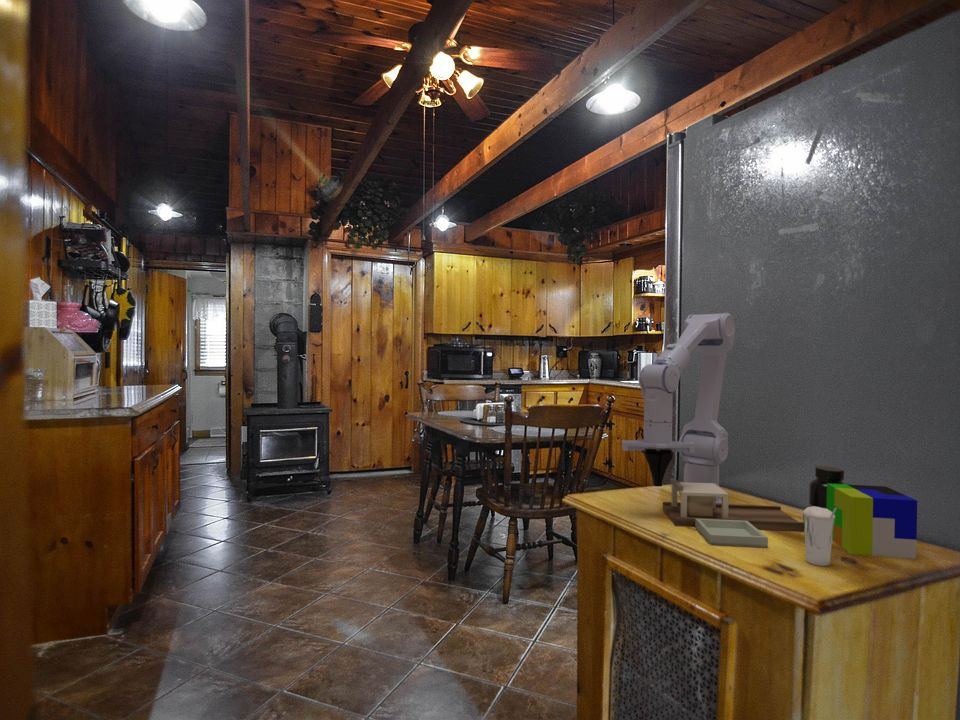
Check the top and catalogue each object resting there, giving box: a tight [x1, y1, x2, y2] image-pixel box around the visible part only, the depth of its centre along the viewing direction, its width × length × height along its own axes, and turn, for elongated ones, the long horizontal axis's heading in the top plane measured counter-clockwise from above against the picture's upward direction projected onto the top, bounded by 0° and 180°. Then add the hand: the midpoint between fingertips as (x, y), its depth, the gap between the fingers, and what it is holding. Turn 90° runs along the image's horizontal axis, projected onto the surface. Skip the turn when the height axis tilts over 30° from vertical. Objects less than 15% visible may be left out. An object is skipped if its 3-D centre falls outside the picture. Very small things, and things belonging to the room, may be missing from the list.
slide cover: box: [669, 477, 729, 519], centre depth 114 cm, size 9×10×6 cm
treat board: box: [662, 501, 805, 532], centre depth 113 cm, size 12×24×2 cm, turn 83°
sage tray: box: [694, 519, 769, 549], centre depth 102 cm, size 10×10×2 cm
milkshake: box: [802, 506, 837, 567], centre depth 90 cm, size 5×5×10 cm
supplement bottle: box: [807, 465, 846, 509], centre depth 108 cm, size 7×7×12 cm
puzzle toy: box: [827, 483, 918, 560], centre depth 98 cm, size 10×10×10 cm
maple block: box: [687, 496, 713, 517], centre depth 114 cm, size 4×4×4 cm
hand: (657, 485), depth 115 cm, fingers closed
